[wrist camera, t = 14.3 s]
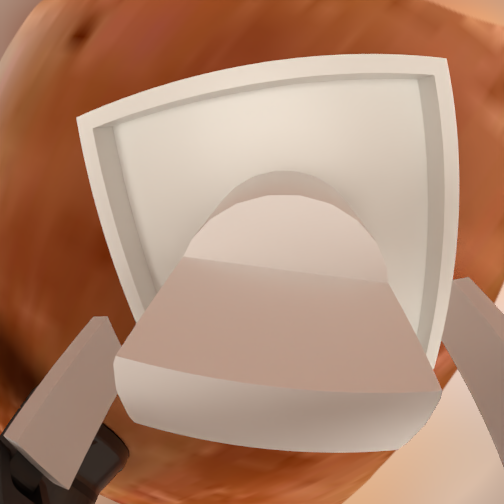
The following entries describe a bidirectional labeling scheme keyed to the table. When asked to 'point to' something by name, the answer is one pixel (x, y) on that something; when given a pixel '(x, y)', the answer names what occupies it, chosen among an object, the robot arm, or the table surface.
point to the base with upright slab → (279, 331)
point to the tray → (286, 164)
